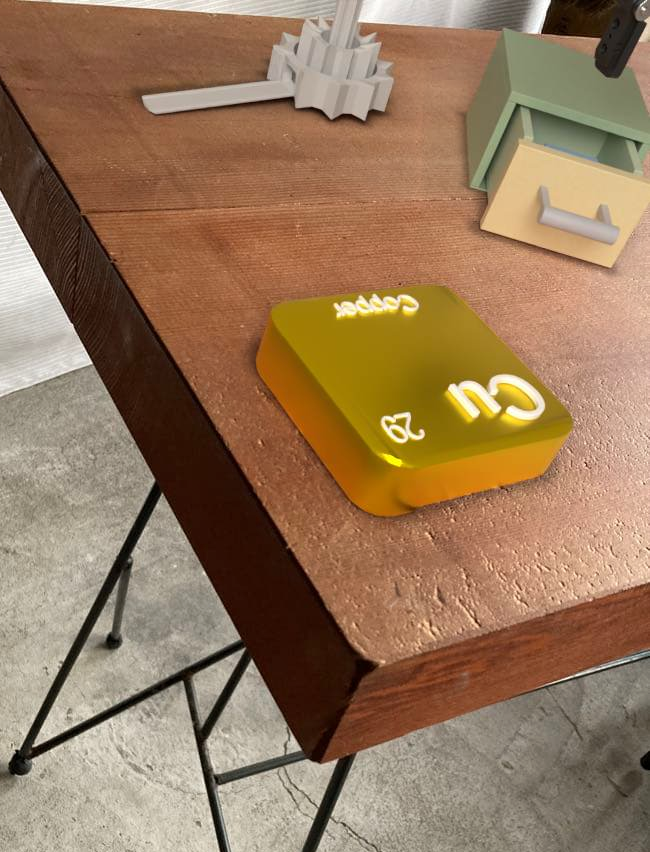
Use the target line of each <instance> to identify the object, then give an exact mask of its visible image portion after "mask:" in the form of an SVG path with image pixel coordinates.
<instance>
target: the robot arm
mask: <svg viewBox="0 0 650 852" xmlns="http://www.w3.org/2000/svg"><path fill="white" fill-rule="evenodd" d="M613 2H614V10H613V13H612V14H611V17H610V19H609V20H608V23H607V25H606V27H605V29H604V32H603V34H602V35H601V38H600V39H599V42H598V44H597V45H596V48H595V50H594V55H593V56H594V58H595V67H596V68H597V69H598V70H599V71H600V72H601V73H602V74H603V75H604V76H605V77H607V78H615V79H616V78H619V77H620V75H621V74H622V72H623V70H624V68H625V66H626V67H627V64H628V62H629V60H630V58H631V56H632V55H633V52H634V51H635V48H636V46H637V44H638V43H639V42H640V41H639V40H640V39H641V37H642V35H643V33H644V31H645V29H646V28H647V26H648V22H647V21H646V20H647V19H649V17H650V0H613Z"/></svg>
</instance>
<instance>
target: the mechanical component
mask: <svg viewBox="0 0 650 852" xmlns="http://www.w3.org/2000/svg"><path fill="white" fill-rule="evenodd" d="M363 3H364V0H337V2H336V7H335V11H334V15H333V19H332V23H331V25H329V24H328V23H327V21H326V19H324V17H323V16H322V15H321V13H320V12H319V13H318V14H317V15H318V16H317V20H316V24H315V23H314V22H313V21H311V20H310V19H309V18H308V17H305V19H304V22H303V25H302V29H301V33H300V35H297V36H296V35H294V34H291V33H287V32H285V31H282V34H281V38H280V43H279V44H273V45H272V50H271V55H270V56H271V57H270V61H269V65H268V70H267V74H266V75H267V76H266V80H263V81H262V80H261V81H255V82H245V83H237V84H230V85H228V84H227V85H221V86H211V87H204V88H195V89H187V90H179V91H171V92H162V93H153V94H145V95H141V100H142V103H143V106H144V107H145V108H146V109H147V111H148V112H150V113H152V114H154V115H160V114H161V115H162V114H168V113H176V112H184V111H191V110H198V109H206V108H213V107H221V106H229V105H235V104H236V105H237V104H243V103H244V104H245V103H250V102H260V101H267V100H274V99H282V98H283V99H284V98H290V97H293V99H294V107H295V109H302V108H303V109H304V108H311V107H313V108H315V109H319V110H321V111H322V112H323V113H324V114H325V115H326V116H327V117H328V118H329V120H332V121H333V120H334V119H336V118H337V117H339V116H340V115H343V114H347V115H348V114H349V115H350V114H351V115H353V116H354V117H357V118H358V119H360V120H362V121H364V122H365V121H366V118H367V115H368V112H370V111H371V110H376V111H380V112H385V110H386V107H387V104H388V101H389V97H390V94H391V91H392V88H393V85H394V81H395V78H394V77H393V76H391V73H392V70H393V67H394V62H392V61H387V60H382V59H380V58H379V53H380V50H381V46H382V44H383V42H382V41H378V42H375V41H376V38H377V34H378V31H374V32H373V33H370V34H368V35H364V36H362V35H361V34H360V33H361V32H360V31H361V26H362V21H359V19H360V15H361V12H362V8H363Z"/></svg>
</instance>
